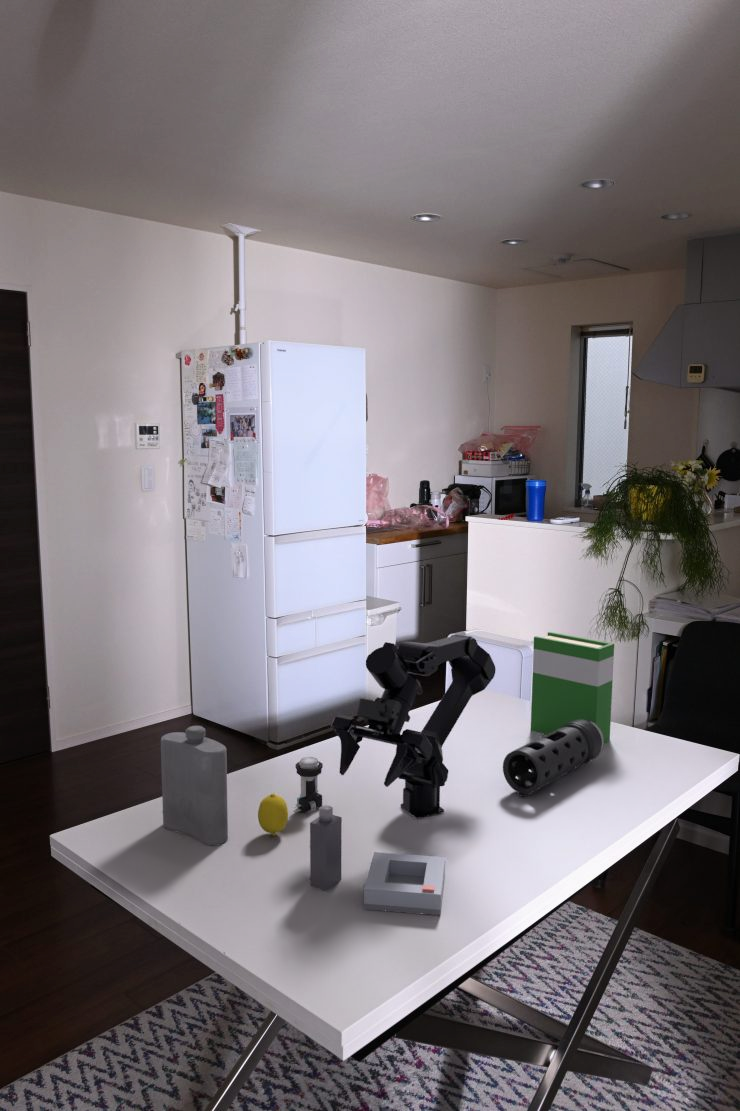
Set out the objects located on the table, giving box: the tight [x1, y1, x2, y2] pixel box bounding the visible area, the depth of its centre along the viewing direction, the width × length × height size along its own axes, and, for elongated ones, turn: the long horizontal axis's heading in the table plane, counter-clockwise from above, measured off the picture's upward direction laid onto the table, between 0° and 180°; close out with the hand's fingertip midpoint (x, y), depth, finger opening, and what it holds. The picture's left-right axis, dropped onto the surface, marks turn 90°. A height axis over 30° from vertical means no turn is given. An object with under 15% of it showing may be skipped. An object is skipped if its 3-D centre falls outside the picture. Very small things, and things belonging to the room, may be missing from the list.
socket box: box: [363, 851, 446, 916], centre depth 142 cm, size 12×12×4 cm
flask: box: [160, 725, 229, 847], centre depth 162 cm, size 15×6×20 cm, turn 54°
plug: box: [309, 804, 343, 892], centre depth 144 cm, size 4×3×13 cm
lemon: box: [257, 793, 289, 836], centre depth 162 cm, size 6×6×8 cm
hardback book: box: [530, 631, 615, 744], centre depth 214 cm, size 18×7×24 cm, turn 48°
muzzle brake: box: [502, 719, 604, 798], centre depth 189 cm, size 10×28×10 cm, turn 138°
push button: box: [291, 756, 324, 814], centre depth 172 cm, size 7×5×10 cm
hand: (363, 779), depth 153 cm, fingers open, 9 cm apart
